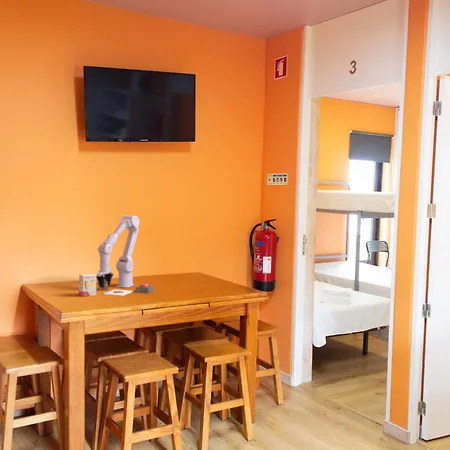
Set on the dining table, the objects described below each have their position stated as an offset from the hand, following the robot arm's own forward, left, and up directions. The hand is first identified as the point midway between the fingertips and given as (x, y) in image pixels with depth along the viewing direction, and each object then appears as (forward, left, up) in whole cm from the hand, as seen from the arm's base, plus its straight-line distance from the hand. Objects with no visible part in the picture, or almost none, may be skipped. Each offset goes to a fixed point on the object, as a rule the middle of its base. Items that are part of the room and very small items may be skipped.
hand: (104, 286), depth 323 cm
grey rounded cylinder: (0, 0, -2) cm, 2 cm away
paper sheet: (+6, +12, -2) cm, 13 cm away
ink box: (+18, -1, -2) cm, 18 cm away
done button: (-4, +24, 0) cm, 24 cm away
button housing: (-4, +24, -2) cm, 24 cm away
